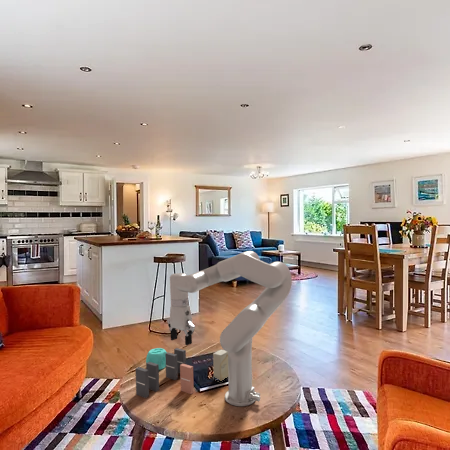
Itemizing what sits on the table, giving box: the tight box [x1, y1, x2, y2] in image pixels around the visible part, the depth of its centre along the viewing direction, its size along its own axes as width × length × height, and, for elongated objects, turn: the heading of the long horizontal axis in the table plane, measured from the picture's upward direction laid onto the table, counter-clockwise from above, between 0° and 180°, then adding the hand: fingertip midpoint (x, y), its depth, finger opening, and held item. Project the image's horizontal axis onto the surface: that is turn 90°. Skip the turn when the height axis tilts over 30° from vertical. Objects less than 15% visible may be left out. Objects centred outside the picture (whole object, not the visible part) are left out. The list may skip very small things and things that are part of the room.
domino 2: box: [145, 362, 160, 392], centre depth 148 cm, size 2×6×11 cm, turn 57°
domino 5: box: [179, 363, 195, 395], centre depth 145 cm, size 2×6×11 cm, turn 57°
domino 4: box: [173, 347, 187, 374], centre depth 163 cm, size 2×6×11 cm, turn 57°
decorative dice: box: [145, 347, 168, 371], centre depth 169 cm, size 8×8×8 cm
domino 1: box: [135, 366, 150, 399], centre depth 143 cm, size 2×6×11 cm, turn 57°
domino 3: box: [165, 351, 179, 381], centre depth 158 cm, size 2×6×11 cm, turn 57°
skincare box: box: [212, 348, 228, 382], centre depth 156 cm, size 6×4×12 cm
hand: (181, 341), depth 148 cm, fingers open, 9 cm apart
